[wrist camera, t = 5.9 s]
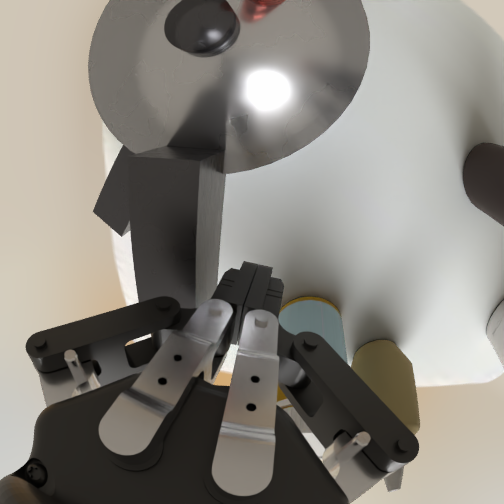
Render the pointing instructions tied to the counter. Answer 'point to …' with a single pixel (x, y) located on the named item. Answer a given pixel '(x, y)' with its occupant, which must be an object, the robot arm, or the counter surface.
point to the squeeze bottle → (390, 387)
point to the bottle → (322, 323)
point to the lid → (214, 112)
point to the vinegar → (486, 179)
